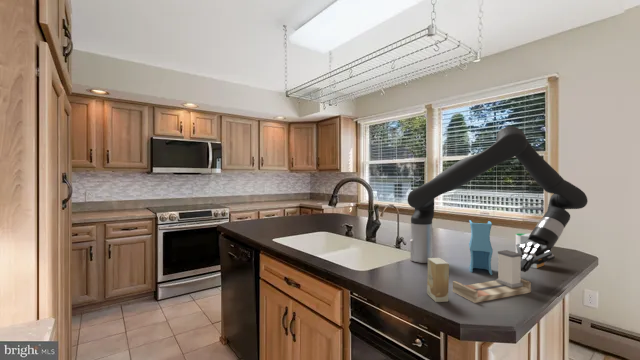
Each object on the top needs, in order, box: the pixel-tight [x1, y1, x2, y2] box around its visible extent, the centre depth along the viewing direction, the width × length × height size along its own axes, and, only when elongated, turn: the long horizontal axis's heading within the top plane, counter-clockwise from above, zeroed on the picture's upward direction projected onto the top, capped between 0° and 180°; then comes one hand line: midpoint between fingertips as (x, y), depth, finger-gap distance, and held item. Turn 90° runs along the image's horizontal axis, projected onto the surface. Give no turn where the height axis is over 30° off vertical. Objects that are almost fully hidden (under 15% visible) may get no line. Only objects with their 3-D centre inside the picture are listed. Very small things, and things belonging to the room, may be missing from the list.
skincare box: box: [426, 257, 450, 303], centre depth 93 cm, size 6×4×12 cm
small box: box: [520, 232, 545, 269], centre depth 125 cm, size 8×6×13 cm
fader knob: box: [495, 249, 523, 288], centre depth 100 cm, size 5×6×11 cm
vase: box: [468, 219, 494, 276], centre depth 118 cm, size 8×8×20 cm
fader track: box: [452, 278, 532, 304], centre depth 97 cm, size 24×9×4 cm, turn 108°
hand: (521, 270), depth 101 cm, fingers closed
